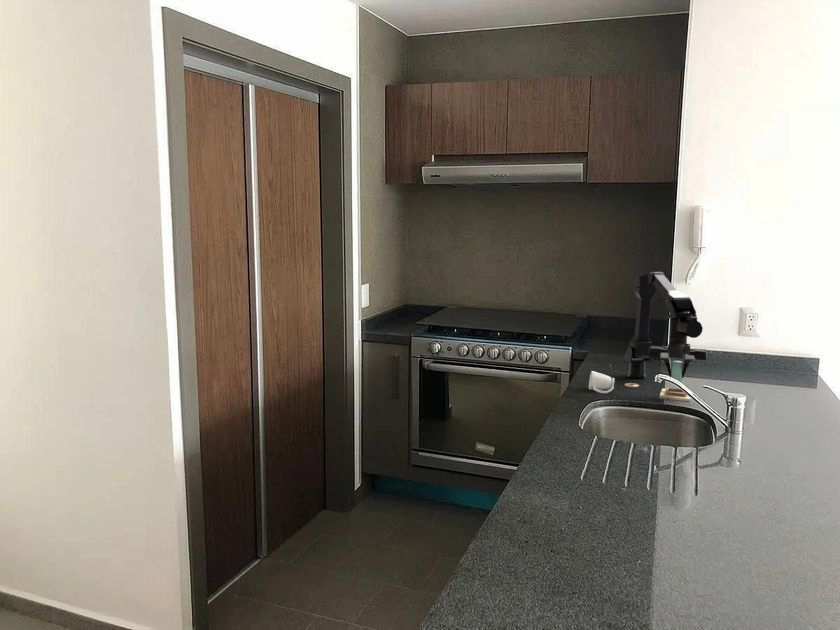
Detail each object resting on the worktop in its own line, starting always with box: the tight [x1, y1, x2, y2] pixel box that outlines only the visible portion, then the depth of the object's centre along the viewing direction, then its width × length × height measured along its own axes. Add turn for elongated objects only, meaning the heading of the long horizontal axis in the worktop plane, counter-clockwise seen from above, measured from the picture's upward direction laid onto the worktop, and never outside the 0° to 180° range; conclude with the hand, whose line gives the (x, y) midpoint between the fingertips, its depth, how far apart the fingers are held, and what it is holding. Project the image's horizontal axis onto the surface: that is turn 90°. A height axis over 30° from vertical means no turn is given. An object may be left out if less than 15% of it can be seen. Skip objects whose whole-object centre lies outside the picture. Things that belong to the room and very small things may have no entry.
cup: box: [588, 370, 615, 394], centre depth 252 cm, size 7×10×8 cm
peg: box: [670, 360, 684, 384], centre depth 242 cm, size 4×4×7 cm
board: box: [658, 387, 692, 402], centre depth 243 cm, size 12×10×2 cm
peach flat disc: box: [624, 382, 640, 388], centre depth 258 cm, size 5×5×1 cm
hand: (676, 377), depth 243 cm, fingers closed on peg, 4 cm apart
